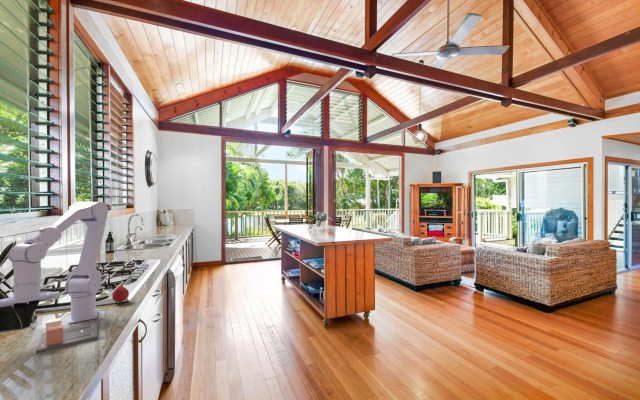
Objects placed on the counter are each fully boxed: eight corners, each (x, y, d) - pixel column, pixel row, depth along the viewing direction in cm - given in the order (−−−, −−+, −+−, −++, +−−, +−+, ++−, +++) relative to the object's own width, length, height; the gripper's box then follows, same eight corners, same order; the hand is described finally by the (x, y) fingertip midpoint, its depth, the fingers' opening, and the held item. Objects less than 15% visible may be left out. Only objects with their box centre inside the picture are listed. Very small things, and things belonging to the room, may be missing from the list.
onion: (120, 306, 117) (120, 287, 117) (108, 305, 119) (108, 286, 118) (132, 301, 123) (132, 283, 123) (121, 300, 124) (121, 282, 124)
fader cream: (46, 334, 91) (46, 320, 90) (61, 331, 93) (61, 317, 93) (45, 337, 88) (45, 323, 88) (60, 334, 91) (60, 320, 91)
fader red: (47, 342, 86) (47, 327, 86) (62, 339, 88) (62, 324, 88) (46, 346, 84) (46, 330, 84) (62, 342, 86) (62, 327, 86)
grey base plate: (42, 337, 91) (42, 333, 91) (97, 325, 100) (97, 321, 100) (35, 354, 81) (35, 350, 81) (97, 339, 90) (97, 335, 90)
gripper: (-13, 290, 79) (-13, 338, 79) (57, 281, 88) (57, 324, 88) (-6, 284, 85) (-6, 329, 85) (60, 276, 94) (59, 316, 94)
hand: (26, 326), depth 87 cm, fingers closed
